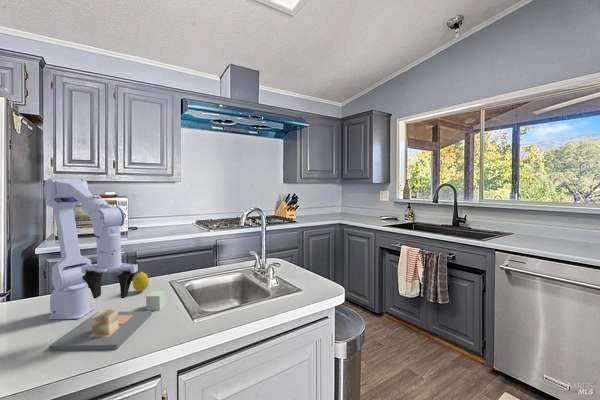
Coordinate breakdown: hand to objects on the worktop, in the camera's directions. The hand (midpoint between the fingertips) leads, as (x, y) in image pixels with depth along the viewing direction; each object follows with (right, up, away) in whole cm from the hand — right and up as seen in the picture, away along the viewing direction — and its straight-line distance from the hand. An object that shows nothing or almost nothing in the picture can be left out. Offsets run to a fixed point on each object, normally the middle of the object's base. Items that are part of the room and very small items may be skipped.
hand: (110, 296), depth 82 cm
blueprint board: (-2, -10, +1) cm, 11 cm away
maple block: (-1, -9, -1) cm, 9 cm away
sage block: (+5, -9, +17) cm, 20 cm away
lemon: (-8, -8, +30) cm, 32 cm away
